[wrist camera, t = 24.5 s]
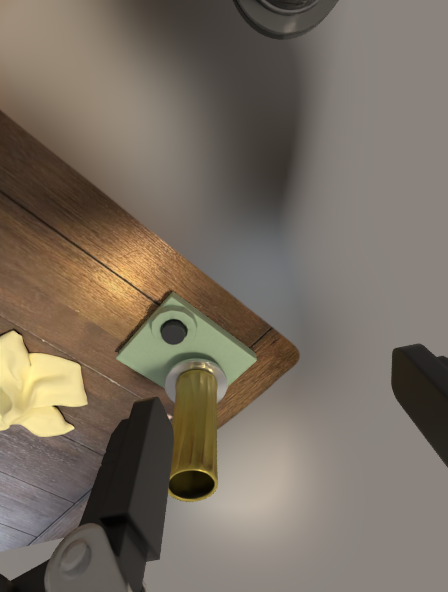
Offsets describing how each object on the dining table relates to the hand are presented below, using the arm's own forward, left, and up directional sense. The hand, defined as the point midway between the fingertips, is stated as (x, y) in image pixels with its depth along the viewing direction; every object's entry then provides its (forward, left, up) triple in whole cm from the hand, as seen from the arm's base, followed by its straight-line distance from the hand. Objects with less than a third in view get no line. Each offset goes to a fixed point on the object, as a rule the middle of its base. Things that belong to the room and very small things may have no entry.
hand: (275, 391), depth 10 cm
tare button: (+11, -10, -26) cm, 30 cm away
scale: (+17, -10, -29) cm, 35 cm away
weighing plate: (+21, -9, -26) cm, 34 cm away
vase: (+21, -9, -25) cm, 34 cm away
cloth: (+18, -37, -29) cm, 51 cm away
